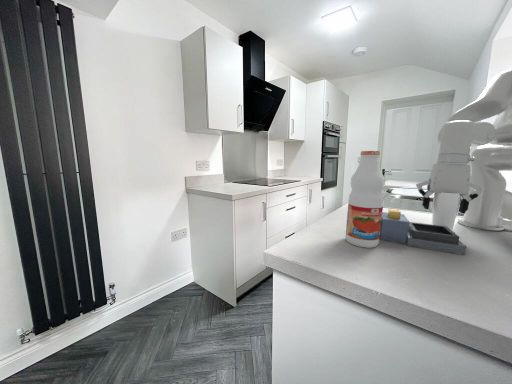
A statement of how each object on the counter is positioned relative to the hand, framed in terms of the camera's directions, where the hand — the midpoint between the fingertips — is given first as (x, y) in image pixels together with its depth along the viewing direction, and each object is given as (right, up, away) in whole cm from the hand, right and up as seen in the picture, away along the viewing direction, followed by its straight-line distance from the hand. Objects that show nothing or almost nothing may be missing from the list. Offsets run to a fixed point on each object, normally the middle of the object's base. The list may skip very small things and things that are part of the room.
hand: (443, 210), depth 73 cm
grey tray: (-14, -9, -4) cm, 17 cm away
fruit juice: (-31, -10, -6) cm, 33 cm away
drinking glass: (+1, -9, +2) cm, 9 cm away
